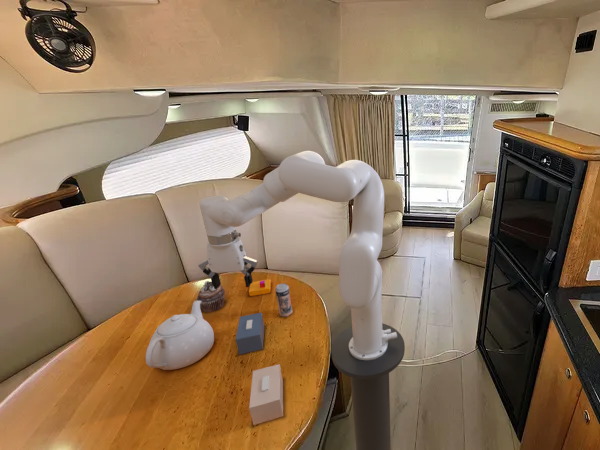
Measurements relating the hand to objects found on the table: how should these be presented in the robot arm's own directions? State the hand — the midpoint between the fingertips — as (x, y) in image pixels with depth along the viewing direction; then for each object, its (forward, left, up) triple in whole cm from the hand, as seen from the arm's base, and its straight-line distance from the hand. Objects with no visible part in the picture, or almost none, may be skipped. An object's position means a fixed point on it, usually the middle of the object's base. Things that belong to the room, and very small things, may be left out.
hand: (233, 285), depth 100 cm
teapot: (+17, +2, -20) cm, 27 cm away
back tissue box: (-3, +3, -20) cm, 20 cm away
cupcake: (+13, -23, -20) cm, 33 cm away
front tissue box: (-9, +30, -20) cm, 37 cm away
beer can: (-14, -8, -20) cm, 25 cm away
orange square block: (-4, -29, -20) cm, 35 cm away
